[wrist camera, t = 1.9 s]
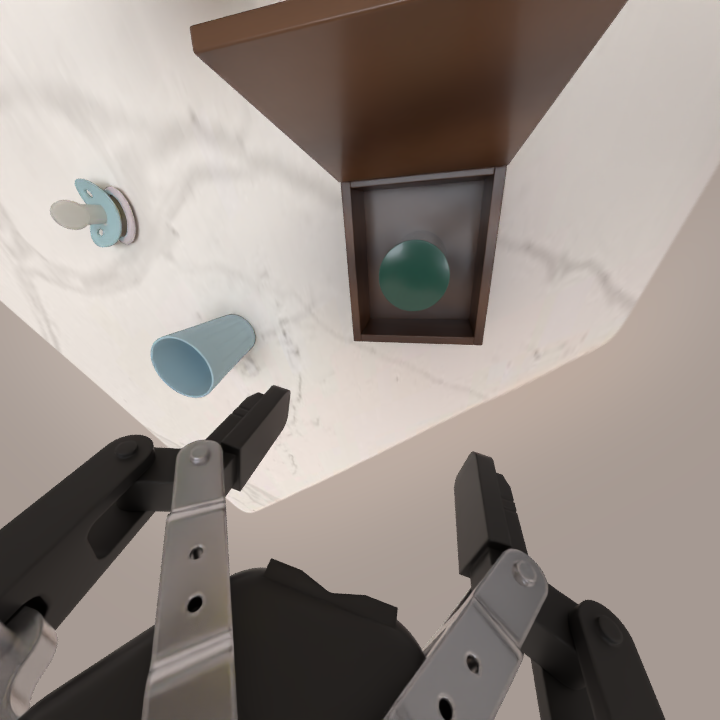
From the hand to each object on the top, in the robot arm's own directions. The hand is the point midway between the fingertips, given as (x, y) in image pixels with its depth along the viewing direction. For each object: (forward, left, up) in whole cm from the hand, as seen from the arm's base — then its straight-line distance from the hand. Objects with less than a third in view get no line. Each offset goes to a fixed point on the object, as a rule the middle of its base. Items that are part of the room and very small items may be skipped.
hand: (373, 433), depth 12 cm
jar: (-3, -2, -22) cm, 23 cm away
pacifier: (+19, -33, -24) cm, 45 cm away
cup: (+21, -13, -24) cm, 34 cm away
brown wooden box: (-3, -2, -23) cm, 24 cm away
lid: (-9, -8, -9) cm, 15 cm away
